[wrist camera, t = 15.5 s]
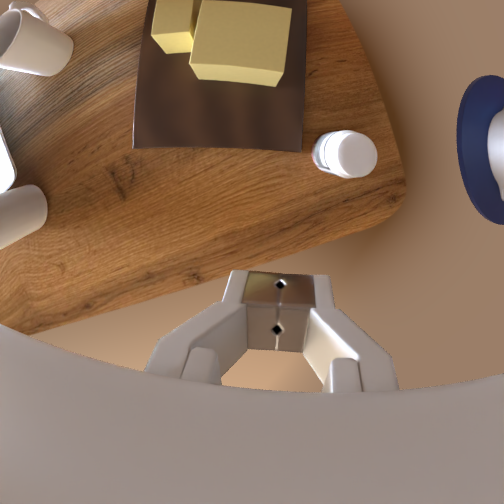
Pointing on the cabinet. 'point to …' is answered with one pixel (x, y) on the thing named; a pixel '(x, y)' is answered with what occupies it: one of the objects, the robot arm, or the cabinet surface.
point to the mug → (32, 42)
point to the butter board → (219, 98)
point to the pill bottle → (344, 154)
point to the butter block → (240, 42)
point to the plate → (6, 166)
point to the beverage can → (21, 213)
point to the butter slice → (175, 24)
